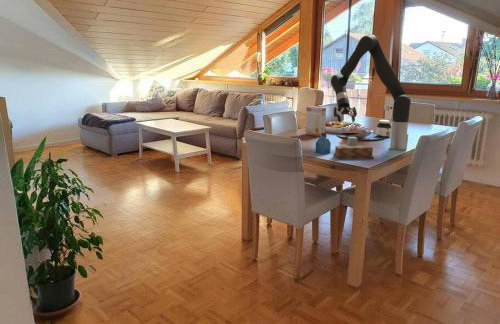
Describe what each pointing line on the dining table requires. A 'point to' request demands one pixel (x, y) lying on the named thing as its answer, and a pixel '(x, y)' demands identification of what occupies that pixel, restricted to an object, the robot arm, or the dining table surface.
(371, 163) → the dining table surface
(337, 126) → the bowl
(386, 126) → the spread jar
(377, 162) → the dining table surface
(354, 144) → the slate peg
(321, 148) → the perfume bottle
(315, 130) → the cracker box
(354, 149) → the stand
